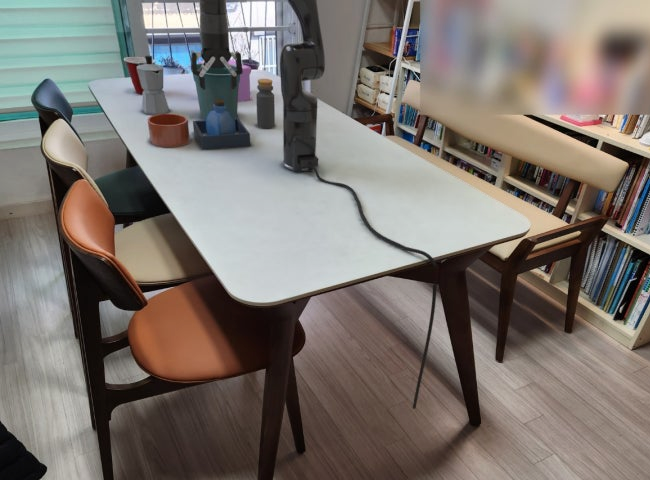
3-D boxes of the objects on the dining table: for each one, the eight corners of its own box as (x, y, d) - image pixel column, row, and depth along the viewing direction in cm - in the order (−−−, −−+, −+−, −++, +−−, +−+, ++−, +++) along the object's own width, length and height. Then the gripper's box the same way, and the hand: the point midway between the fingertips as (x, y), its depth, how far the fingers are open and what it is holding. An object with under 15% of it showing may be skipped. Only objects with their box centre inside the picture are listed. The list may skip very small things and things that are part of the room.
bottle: (276, 124, 181) (276, 79, 172) (272, 129, 176) (271, 83, 168) (260, 122, 181) (258, 77, 173) (255, 127, 176) (253, 81, 168)
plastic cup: (166, 93, 199) (162, 59, 192) (142, 98, 191) (136, 63, 184) (147, 86, 203) (142, 53, 196) (122, 91, 195) (116, 57, 189)
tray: (250, 146, 162) (249, 133, 160) (202, 149, 156) (201, 136, 154) (239, 130, 173) (238, 118, 170) (193, 133, 167) (192, 120, 165)
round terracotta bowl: (192, 145, 158) (190, 124, 154) (153, 148, 154) (149, 126, 150) (186, 133, 166) (184, 112, 163) (148, 135, 162) (145, 114, 158)
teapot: (182, 95, 199) (178, 55, 191) (242, 88, 213) (240, 51, 205) (201, 106, 189) (197, 65, 182) (261, 98, 204) (260, 60, 196)
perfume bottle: (223, 134, 168) (221, 96, 161) (236, 140, 165) (233, 101, 158) (207, 138, 164) (203, 99, 157) (219, 144, 161) (216, 105, 154)
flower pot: (234, 107, 192) (231, 61, 183) (251, 121, 181) (249, 73, 172) (188, 111, 184) (183, 63, 175) (203, 126, 173) (199, 75, 164)
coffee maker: (176, 114, 180) (170, 59, 170) (151, 118, 174) (143, 61, 164) (157, 102, 188) (150, 49, 178) (133, 106, 183) (124, 51, 173)
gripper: (190, 32, 141) (195, 93, 150) (243, 33, 147) (245, 92, 156) (185, 26, 147) (191, 85, 156) (236, 27, 152) (239, 84, 162)
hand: (218, 88), depth 156 cm, fingers open, 8 cm apart
